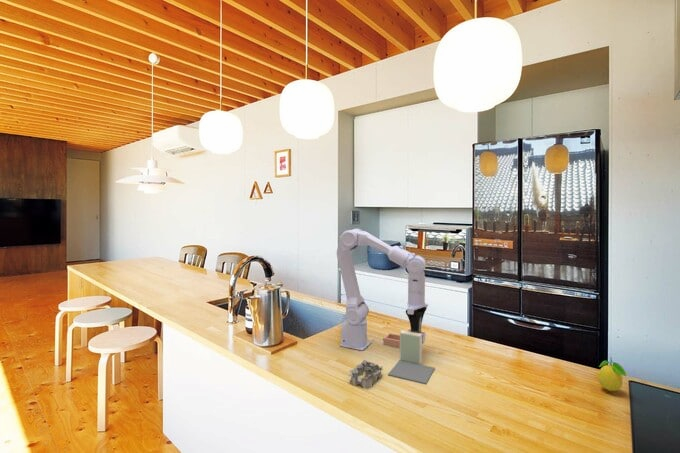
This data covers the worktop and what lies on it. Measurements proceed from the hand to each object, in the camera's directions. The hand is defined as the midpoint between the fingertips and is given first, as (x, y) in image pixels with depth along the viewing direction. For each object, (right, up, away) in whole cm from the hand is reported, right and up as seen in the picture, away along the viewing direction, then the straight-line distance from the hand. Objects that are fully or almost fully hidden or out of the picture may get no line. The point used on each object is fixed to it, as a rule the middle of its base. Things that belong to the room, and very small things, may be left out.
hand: (416, 328), depth 125 cm
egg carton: (-19, -11, -16) cm, 27 cm away
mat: (-4, -10, -12) cm, 16 cm away
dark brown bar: (0, -4, 0) cm, 4 cm away
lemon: (+50, -11, -25) cm, 57 cm away
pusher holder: (-5, -9, +10) cm, 14 cm away
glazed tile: (-3, -10, -5) cm, 11 cm away
